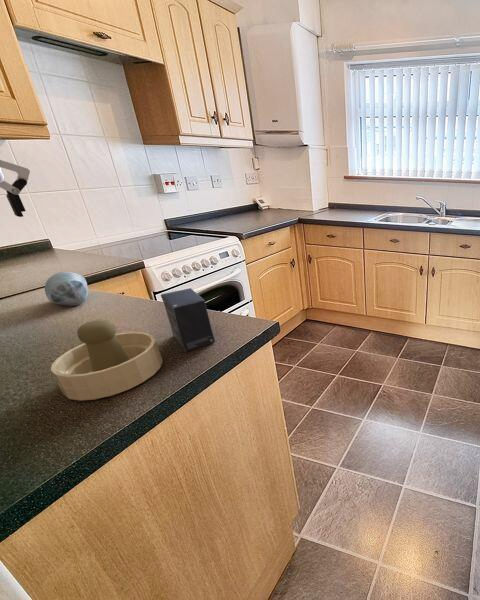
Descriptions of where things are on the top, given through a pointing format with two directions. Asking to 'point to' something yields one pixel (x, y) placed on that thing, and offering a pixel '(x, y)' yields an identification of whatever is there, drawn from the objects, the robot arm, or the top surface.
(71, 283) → the light blue rounded lump
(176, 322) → the small box
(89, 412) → the top surface
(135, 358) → the bowl
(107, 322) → the cork
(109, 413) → the top surface
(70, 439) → the top surface
